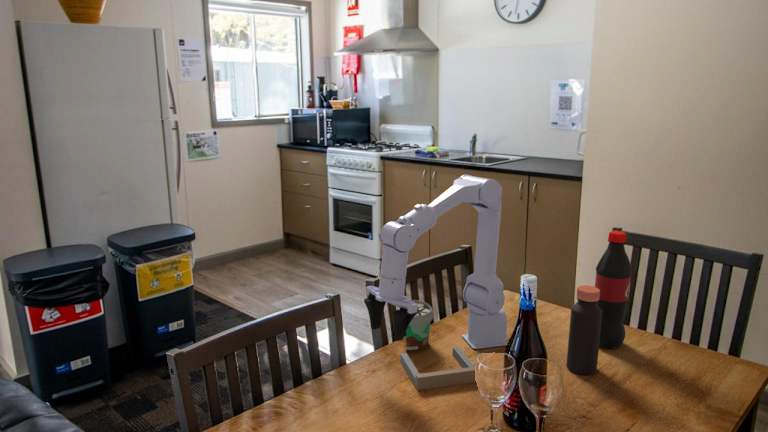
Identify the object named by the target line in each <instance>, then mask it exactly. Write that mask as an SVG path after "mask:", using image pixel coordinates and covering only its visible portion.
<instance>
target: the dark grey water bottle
mask: <svg viewBox="0 0 768 432" xmlns="http://www.w3.org/2000/svg"><path fill="white" fill-rule="evenodd" d="M599 297H600V290H599V289H598V288H596V287H595V286H593V285H585V284H584V285H579V286H577V289H576V300H577V302H576V303H574V304H573V305H572V306H571V310H570V320H569V321H570V322H569V332H568V341H567V354H566V355H567V356H566V368H567V369H568V370H569V371H570V372H571V373H574V374H577V375H580V376H591V375H593V374H596V372H597V370H598V359H599V350H600V346H599V341H600V331H601V321H602V310H601V308H600V307H599V306H598V305H597V303H598V302H599Z"/></svg>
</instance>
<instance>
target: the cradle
mask: <svg viewBox="0 0 768 432" xmlns="http://www.w3.org/2000/svg"><path fill="white" fill-rule="evenodd" d="M452 356H453V357H454V358H455V360H456V361H457V362H458V364H459V365H460V367H461V368H455V369H454V368H453V369H448V370H439V371H432V372H424V373H420V372H419V371H418V368H417V367H416V366H415V365H414V362H413V361H412V360H411V358H410V356H409V355H408V352H404V353H403V352H402V353H400V356H399V357H400V361H399V362H400V364H401V365H402V367H403V369H404V370H405V372H406V373H407V375H408V377H409V378H410V380H411V382H412V384H413V385H414V386H415V388H416V390H417V391H423V390H430V389H435V388H436V389H437V388H445V387H451V386H458V385H464V384H473V383H476V382H475V367H476V366H475V364H474V363H473V362H472V361H471V360H470V358H469V357H468V356H467V355H466V353H464V352H463V351H462V348H460V347H459V346H453V347H452Z"/></svg>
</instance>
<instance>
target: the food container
mask: <svg viewBox="0 0 768 432" xmlns="http://www.w3.org/2000/svg"><path fill="white" fill-rule="evenodd" d="M412 301H413V302H414V303H417V304H418V305H417V313H416V315H415V316H414V318H413V319H412V321H411V322H410V324H409V326H408V328H407V330H406V333H405V353H410V354H411V353H419V352H422V351H424V350H427V348H428V347H429V339H430V329H431V322H432V321H433V319H434V316H435V315H434V312H433V311H434V310H433V308H432V306H431V305H430V304H429V303H427V302H425V301H422V300H418V299H417V300H416V299H412Z"/></svg>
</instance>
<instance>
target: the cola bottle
mask: <svg viewBox="0 0 768 432" xmlns="http://www.w3.org/2000/svg"><path fill="white" fill-rule="evenodd" d="M607 242H608V245H607V247H606V250H605V251H604V253H603V254H602V256H601V257H600V259H599V261H598V262H597V265H596V267H595V272H596V273H595V280H594V281H595V283H594V287H596V288H598V289H599V290H600V297H599V302H598V303H597V305H598V306H599V307H600V308H601V310H602V321H601V331H600V341H599V347H601V348H605V349H617V348H619V347H621V346H622V345H623V343H624V341H625V337H626V328H625V325H624V321H625V317H626V313H627V310H628V306H629V303H630V298H629V297H630V290H631V289H630V288H631V279H632V275H633V267H632V264H631V261H630V258H629V256H628V254H627V252H626V249H625V248H626V247H625V244H626V243H627V233H626V232H623V231H620V230H611V231H609V233H608V238H607Z"/></svg>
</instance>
